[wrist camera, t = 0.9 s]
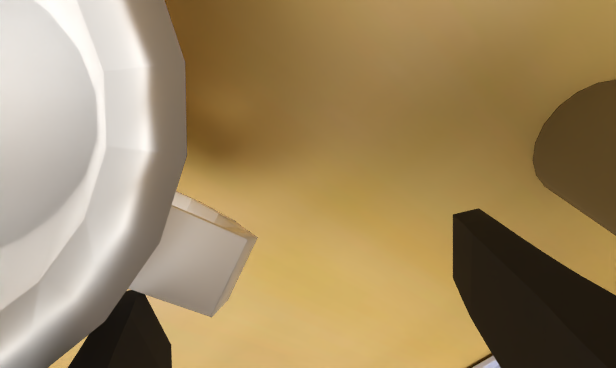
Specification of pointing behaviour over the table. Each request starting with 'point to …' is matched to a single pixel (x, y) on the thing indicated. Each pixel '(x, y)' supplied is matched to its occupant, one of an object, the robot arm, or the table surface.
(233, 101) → the table surface
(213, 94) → the table surface
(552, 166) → the brown chess pawn
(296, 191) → the table surface
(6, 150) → the mug
